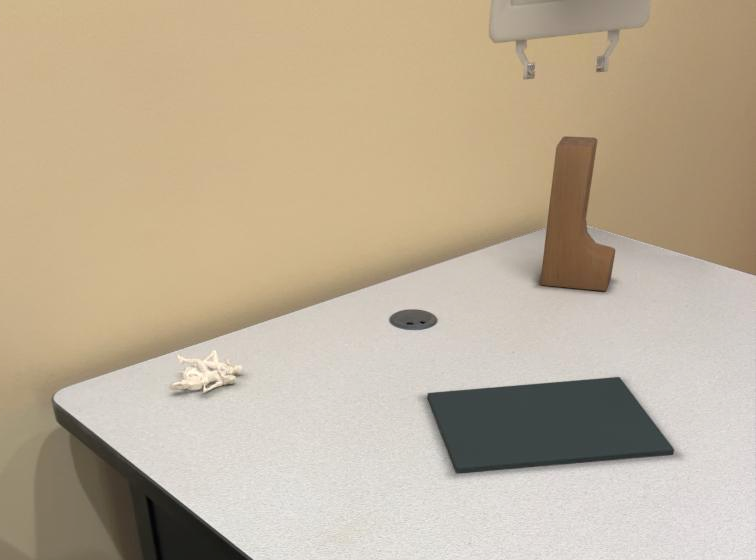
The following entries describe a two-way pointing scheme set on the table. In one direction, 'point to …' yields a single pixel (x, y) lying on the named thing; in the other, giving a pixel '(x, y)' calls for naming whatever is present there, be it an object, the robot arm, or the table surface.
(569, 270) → the wooden block
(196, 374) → the figurine
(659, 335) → the table surface
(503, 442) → the mat
